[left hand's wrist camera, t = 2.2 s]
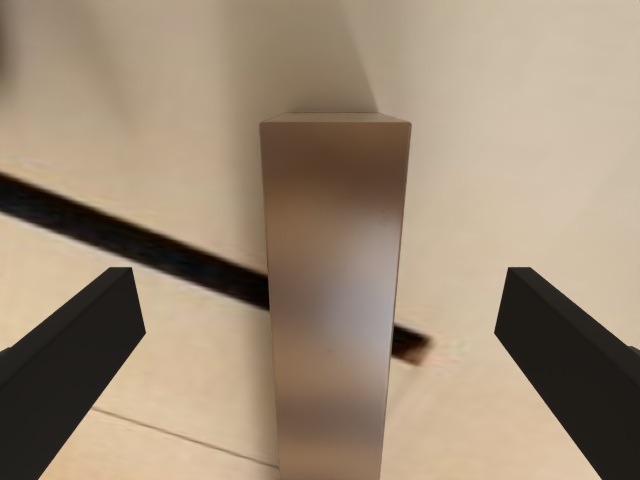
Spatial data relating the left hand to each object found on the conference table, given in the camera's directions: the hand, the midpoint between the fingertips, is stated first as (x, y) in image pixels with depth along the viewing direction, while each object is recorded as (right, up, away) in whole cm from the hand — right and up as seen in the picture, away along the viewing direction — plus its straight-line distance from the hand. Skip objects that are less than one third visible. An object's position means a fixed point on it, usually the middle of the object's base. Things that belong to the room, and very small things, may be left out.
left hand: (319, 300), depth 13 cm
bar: (+1, -26, +19) cm, 32 cm away
